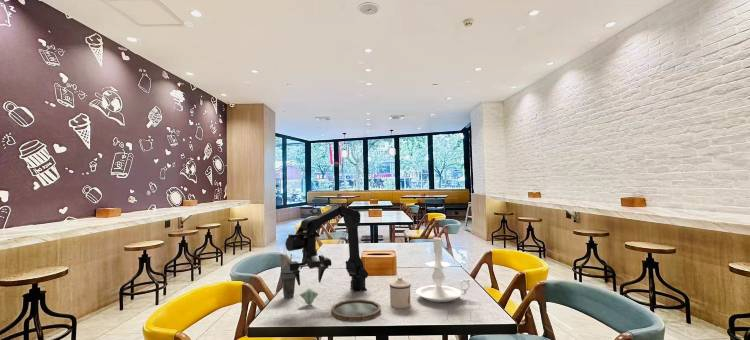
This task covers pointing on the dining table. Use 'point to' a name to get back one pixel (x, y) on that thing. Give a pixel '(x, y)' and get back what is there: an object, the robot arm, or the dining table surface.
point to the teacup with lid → (400, 293)
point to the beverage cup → (288, 281)
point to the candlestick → (440, 280)
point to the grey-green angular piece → (309, 296)
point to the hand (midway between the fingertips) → (309, 283)
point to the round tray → (356, 310)
